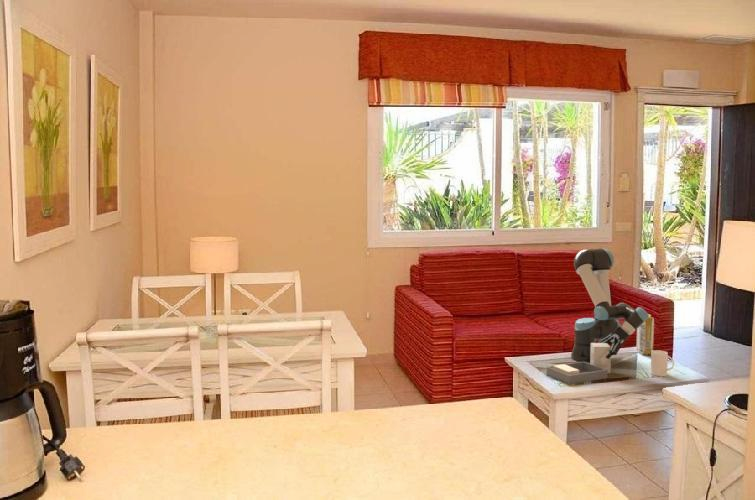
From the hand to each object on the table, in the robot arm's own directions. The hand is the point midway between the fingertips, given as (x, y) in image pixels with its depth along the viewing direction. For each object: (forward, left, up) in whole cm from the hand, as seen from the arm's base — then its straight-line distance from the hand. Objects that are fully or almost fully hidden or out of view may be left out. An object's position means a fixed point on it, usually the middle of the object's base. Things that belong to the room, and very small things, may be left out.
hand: (596, 358), depth 344 cm
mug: (+19, +28, -7) cm, 35 cm away
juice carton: (-18, +53, -7) cm, 56 cm away
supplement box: (+1, +2, -7) cm, 8 cm away
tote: (+5, -17, -7) cm, 19 cm away
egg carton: (+5, -24, -7) cm, 26 cm away
